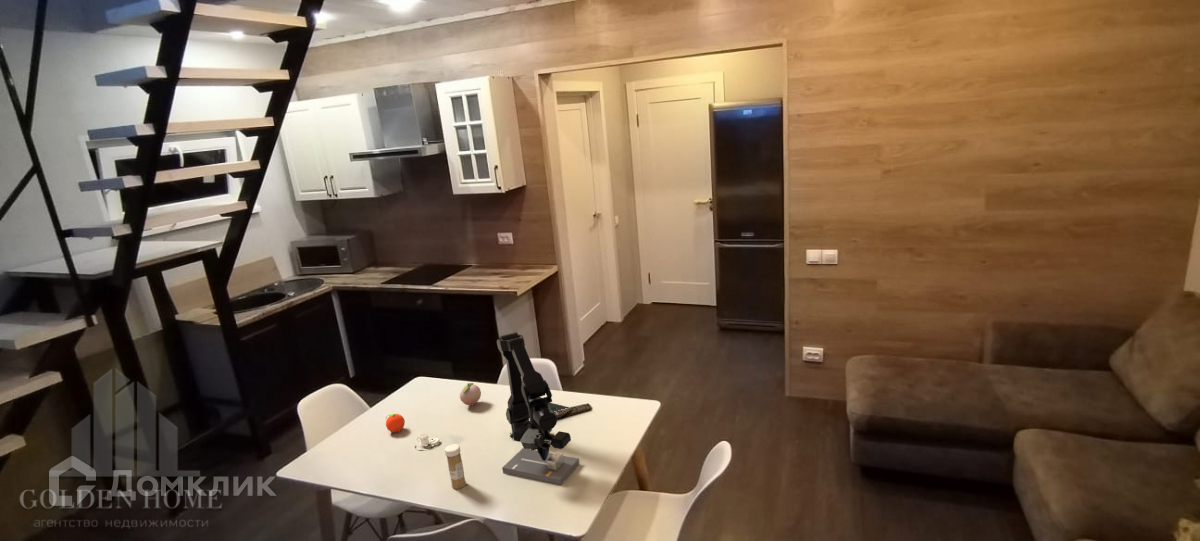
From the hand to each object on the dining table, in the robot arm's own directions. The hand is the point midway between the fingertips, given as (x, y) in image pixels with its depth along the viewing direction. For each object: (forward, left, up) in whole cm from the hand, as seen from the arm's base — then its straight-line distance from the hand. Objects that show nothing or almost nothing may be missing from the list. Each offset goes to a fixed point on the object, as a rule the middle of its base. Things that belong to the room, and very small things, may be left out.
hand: (544, 460), depth 187 cm
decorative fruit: (-55, +31, -4) cm, 63 cm away
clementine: (-72, +5, -4) cm, 72 cm away
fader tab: (+4, 0, -1) cm, 4 cm away
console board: (-2, 0, -3) cm, 4 cm away
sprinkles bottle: (-23, -16, -4) cm, 28 cm away
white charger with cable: (-49, -2, -4) cm, 50 cm away
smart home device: (-22, +35, -4) cm, 42 cm away
